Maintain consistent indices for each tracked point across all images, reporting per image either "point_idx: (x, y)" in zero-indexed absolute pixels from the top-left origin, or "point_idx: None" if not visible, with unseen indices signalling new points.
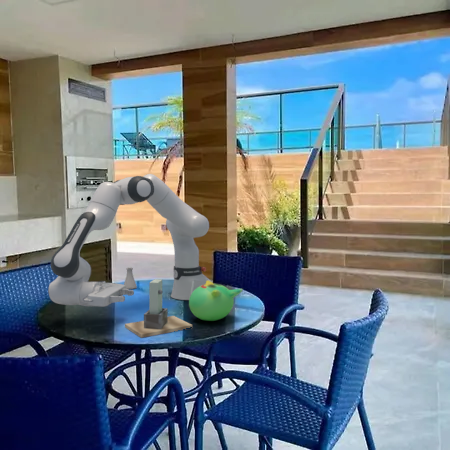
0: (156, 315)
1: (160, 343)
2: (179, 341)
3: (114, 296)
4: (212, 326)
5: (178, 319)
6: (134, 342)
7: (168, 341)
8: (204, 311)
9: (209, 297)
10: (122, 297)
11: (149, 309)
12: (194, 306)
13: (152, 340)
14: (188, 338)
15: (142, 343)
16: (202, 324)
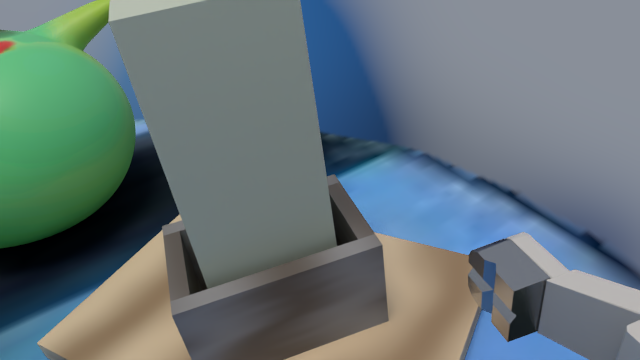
0: (344, 192)
1: (476, 183)
2: (399, 157)
3: (636, 303)
4: (156, 172)
5: (124, 277)
6: (574, 260)
7: (430, 178)
8: (134, 130)
9: (92, 59)
10: (527, 241)
11: (331, 212)
12: (108, 144)
13: (473, 222)
14: (346, 156)
15: (546, 227)
16: (136, 205)
